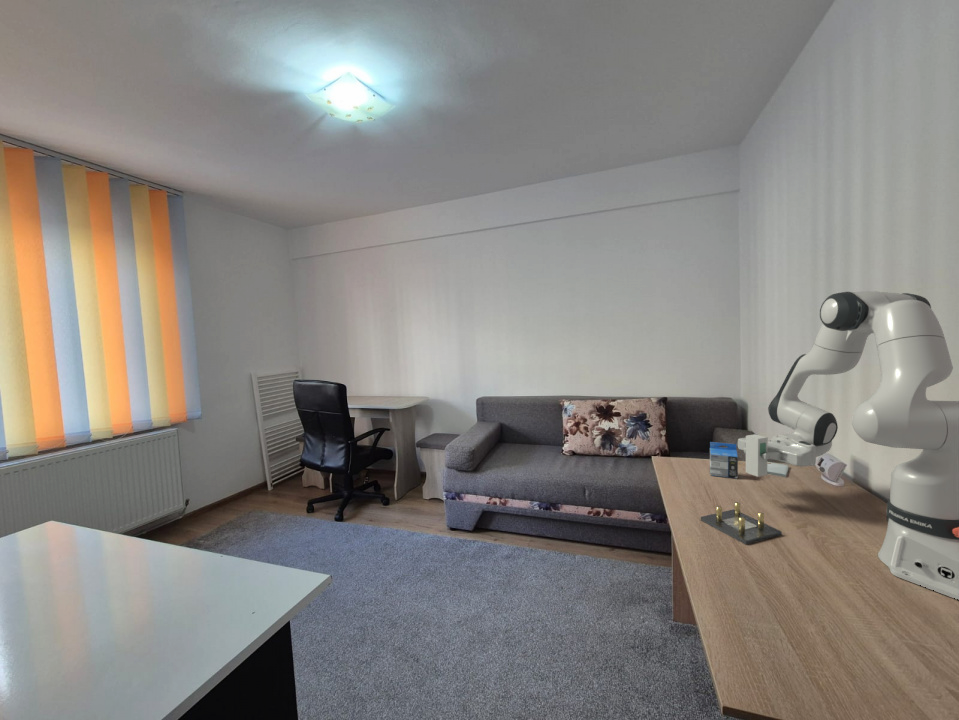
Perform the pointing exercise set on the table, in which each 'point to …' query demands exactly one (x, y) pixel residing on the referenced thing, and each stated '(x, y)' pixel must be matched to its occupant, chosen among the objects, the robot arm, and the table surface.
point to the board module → (756, 455)
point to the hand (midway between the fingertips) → (754, 453)
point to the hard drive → (777, 469)
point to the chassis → (741, 525)
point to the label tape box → (723, 460)
